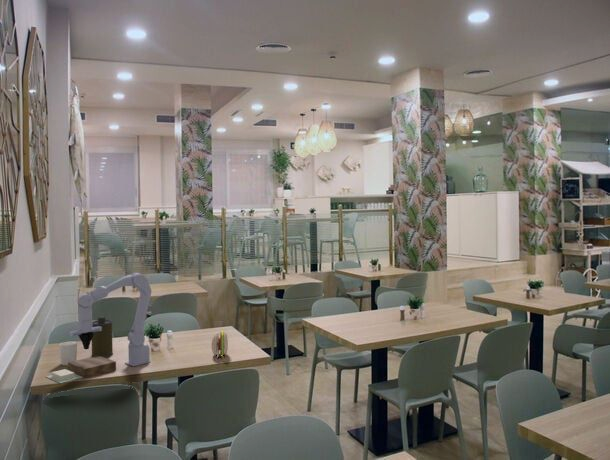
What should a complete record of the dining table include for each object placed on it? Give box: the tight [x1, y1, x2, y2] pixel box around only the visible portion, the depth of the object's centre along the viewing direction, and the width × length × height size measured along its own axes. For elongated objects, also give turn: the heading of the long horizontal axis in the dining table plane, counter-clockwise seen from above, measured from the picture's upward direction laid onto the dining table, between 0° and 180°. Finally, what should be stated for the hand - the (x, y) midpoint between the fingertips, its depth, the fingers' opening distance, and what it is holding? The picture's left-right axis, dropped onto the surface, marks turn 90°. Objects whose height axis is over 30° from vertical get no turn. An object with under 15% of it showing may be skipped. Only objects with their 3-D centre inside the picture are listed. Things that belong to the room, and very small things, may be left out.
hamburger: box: [211, 329, 229, 359], centre depth 266 cm, size 12×8×12 cm
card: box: [51, 368, 75, 381], centre depth 231 cm, size 6×9×2 cm, turn 50°
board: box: [67, 356, 117, 379], centre depth 241 cm, size 15×16×4 cm
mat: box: [45, 374, 84, 384], centre depth 231 cm, size 10×14×1 cm
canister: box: [90, 315, 114, 358], centre depth 267 cm, size 11×10×20 cm
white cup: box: [59, 340, 78, 366], centre depth 253 cm, size 8×8×10 cm
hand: (86, 348), depth 241 cm, fingers closed
